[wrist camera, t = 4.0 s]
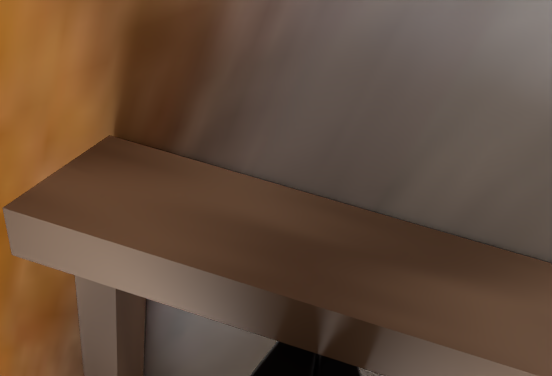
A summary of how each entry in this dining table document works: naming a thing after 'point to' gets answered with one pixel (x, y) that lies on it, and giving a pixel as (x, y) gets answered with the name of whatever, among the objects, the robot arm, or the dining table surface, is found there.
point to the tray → (276, 269)
